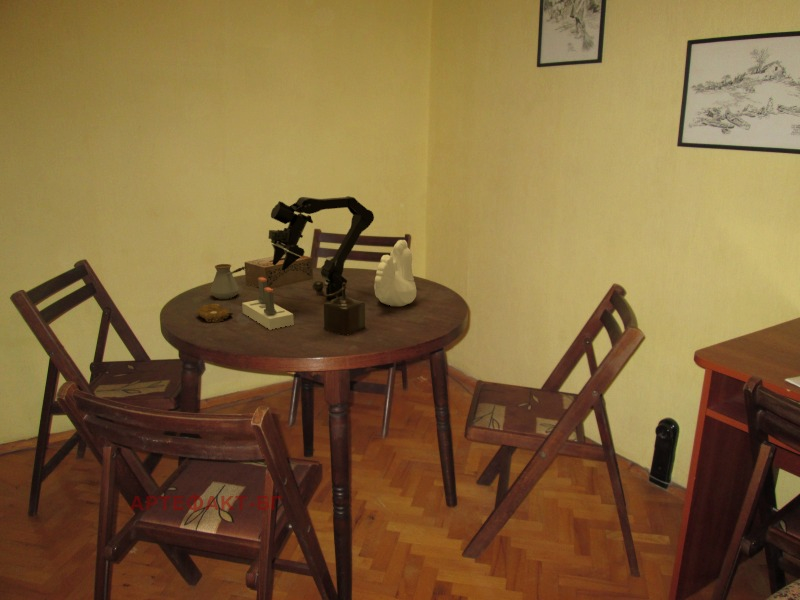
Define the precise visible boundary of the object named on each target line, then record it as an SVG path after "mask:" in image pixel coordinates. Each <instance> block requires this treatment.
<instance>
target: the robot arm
mask: <svg viewBox="0 0 800 600" xmlns="http://www.w3.org/2000/svg"><path fill="white" fill-rule="evenodd" d="M345 208H347V210H348V211H349V212H350V214H352V218H351V224H350V228H349V229H348V231H347V232H346V234H345V237H344V238H343V240H342V242H341V243H340V245H339V247H338V249H337V251H336V253H335V254H334V256H332V257H333V258H332V259H331V260H328V259H326V258H325V260H326V261H325V260H324V262H325V263H323V264H322V266H321V271H320V274H321V277H322V278H323V279H324V282H325V281H326V282H327V283H328V284H327V285H326V288H325V292H326V293H325V295H329V294H333V293H335V292H337V291H339V290H340V289H341V288H342V286H343V285H342V283H343V282H345V283H346V284H347V283H348V280H347V278H345V277H344V276H343V273H344V268H345V267H344V265H345V263H346V260H347V258H348V257H349V255H350V254H351V252H352V251H353V249H354V246H355V245H356V243H357V242H358V240H359V238H360V236H361V234H362V233H363V232H365V231H366V230H367V229H368V228H369V227H370V226H371V225H372V223H373V221H374V219H375V216H374V215H375V214H374V212H373V211H372V210H370V209H368V208H366V206H364V205H363V204H361V203H360V202H359V201H358V200H357V199H356V198H355V197H353V196H350V195H349V196H345V197H344V196H343V197H330V198H314V197H309V196H308V197H307V196H301V197H298V199H297V200H296V202H294V203H292V204H290V205H287V204H286V203H284V202H283V201H281V200H280V201H278V202H277V204H276V205H274V207H273V208H272V210H271V212H270V218H271V219H273V220H276V221H278V222H279V223H282V224H284V225H286V224H288V225H287V227H284V228H283V229H281V230H280V229H277V230H275V229H274V230H273V229H269V230H268V239H269V240H270V243H271V246H272V248H273V256H272V257H273V265H276V264H277V263H278V262H279V260H280V259H281V258H282V257H283V256H284V254H285V255H286V256H285V259H284V262H283V265H282V270H285V269H286V268H288V267H289V266H290V265H291V264H292V263H293V262H295V261H296V260H297V259H299V258H300V257H299V255H300V256H302V257H303V255H304V254H305V252H306V251H305V249H304V248H302V247H299V244H298V243H299V241H300V239H303V237H304V235H303V232H304V230H305V227H306V225H307V223H311V224H313V223H314V221H313V219H312V216H311V214H312V215H313V214H316V213H318V212H320V211H323V210H333V209H334V210H335V209H345ZM297 213H298V214H297ZM305 214H307V215H305ZM304 256H305V255H304ZM337 295H338V297H341V296H343V291H342V292H341V293H339V294H337ZM333 299H336V295H335V296H332V297H326V299H325V301H329V302H330V301H331V300H333Z"/></svg>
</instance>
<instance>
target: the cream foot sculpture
mask: <svg viewBox="0 0 800 600" xmlns="http://www.w3.org/2000/svg"><path fill="white" fill-rule="evenodd" d="M389 254H390V255H389ZM389 254H384V255H382V256H381V258H380V262H379V264H378V266H377V269H376V272H375V274H376V275H375V278H374V287H373V288H374V295H375V297H376V298H378V300H379V301H380V303H382V304H385V305H387V306H389V305H390V307H404V306H406V305H408V304H411V303H413V301H414V300H415V299H416V297H417V286H416V282H415V278H414V273H413V265H412V264H413V255H412V251H411V249H410V248H409V246H408V242H407V241H406V240H405V239H398V240H397V241H396V243H395V244H394V246H393V248H392V250H391V251H390V253H389Z"/></svg>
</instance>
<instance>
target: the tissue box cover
mask: <svg viewBox="0 0 800 600" xmlns="http://www.w3.org/2000/svg"><path fill="white" fill-rule="evenodd" d="M285 256H286V255H285V254H284V256H283V257H282V258H281V259H280V260H279V262H278V263H277V264H276V265H273V256H268V257H263V258H257V259H253V260H249V261H247V260H246V261H244V266H247V268H245V269H244V270H245V271H244V273H245V277H244V278H245V284H246V283H247V284H246V285H248V284H250V285H249V286H251V285H254V286H253V287H255V286H257V287H256V288H258V287H259V283H258V278H261V277H263V278H265V279H267V287H269V288H272V289H275V287H277V288H280V287H279V286H281V287H283V286H284V285H285V286H288V284H289V285H293V284H296V283H301V282H304V281H310V280H312V279H314V267H313V256H308V255H303V257H302V256H300V255H299V257H300V258H299V259H297V260H296V261H295V262H293V263H292V264H291V265H290V266H289V267H288V268H286V269H285V270H282V265H283V262H284V259H285ZM248 270H249V271H248Z"/></svg>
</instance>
